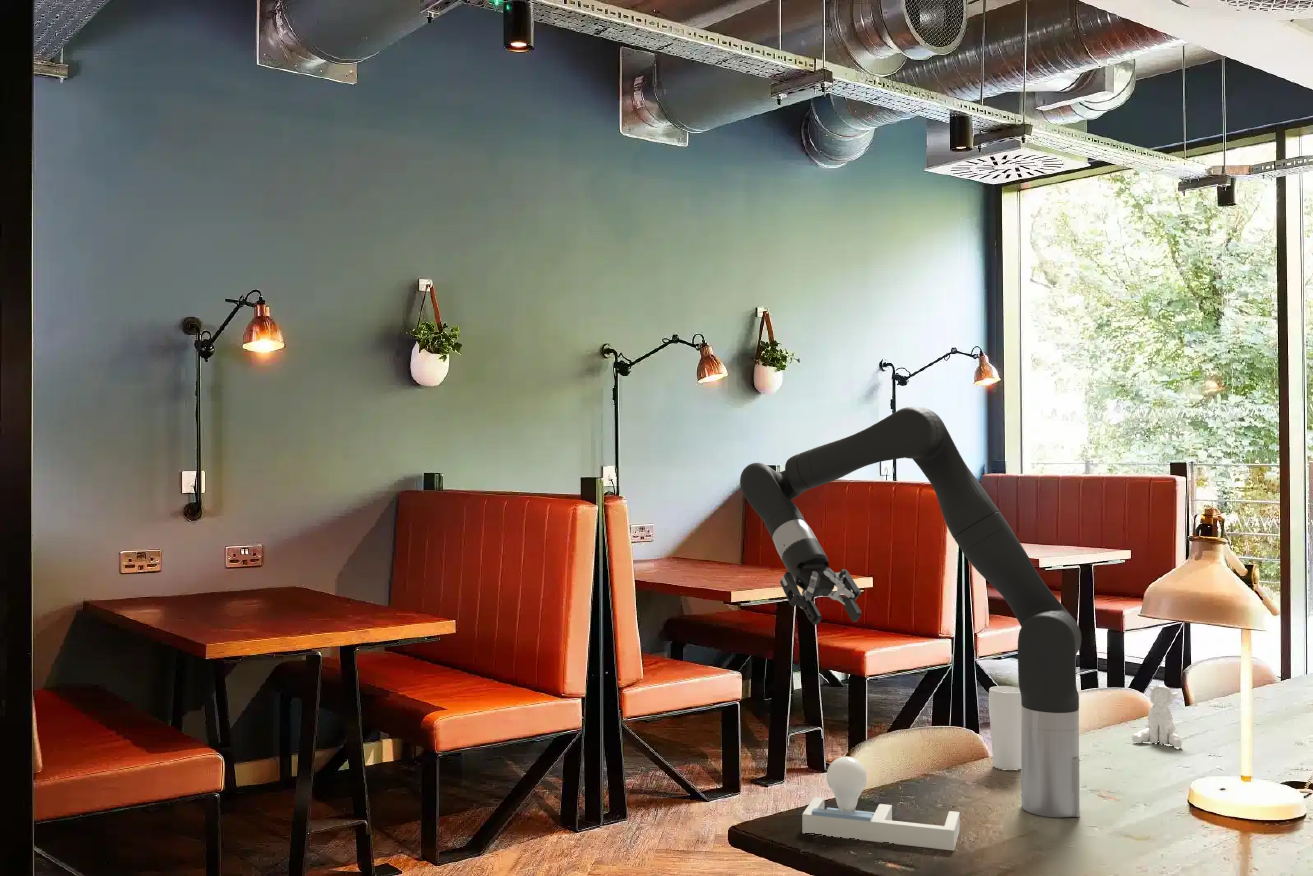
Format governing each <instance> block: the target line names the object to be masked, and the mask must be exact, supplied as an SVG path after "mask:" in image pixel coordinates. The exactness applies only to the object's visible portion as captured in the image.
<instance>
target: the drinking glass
mask: <svg viewBox="0 0 1313 876" xmlns="http://www.w3.org/2000/svg"><path fill="white" fill-rule="evenodd" d="M988 716H989V727H990V728H989V729H990V736H991V737H990V739H991V750H992V766H993V767H994V768H995V769H997V768H998V769H997V770H1000V769H1007V770H1014V769H1019V770H1021V693H1020V689H1019V686H1018V687H1017V686H1011V685H1010V686H1008V685H997V686H991V687H989V689H988Z"/></svg>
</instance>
